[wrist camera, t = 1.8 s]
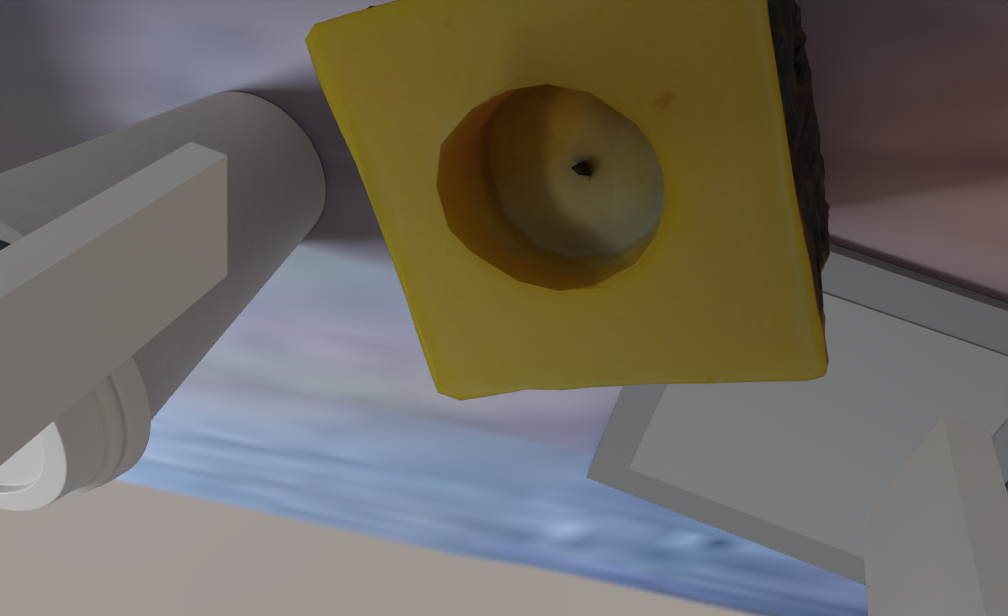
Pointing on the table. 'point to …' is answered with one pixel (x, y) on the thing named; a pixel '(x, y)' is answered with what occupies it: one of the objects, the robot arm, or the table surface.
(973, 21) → the table surface
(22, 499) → the coffee cup
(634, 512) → the table surface
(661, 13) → the candle
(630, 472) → the coaster
